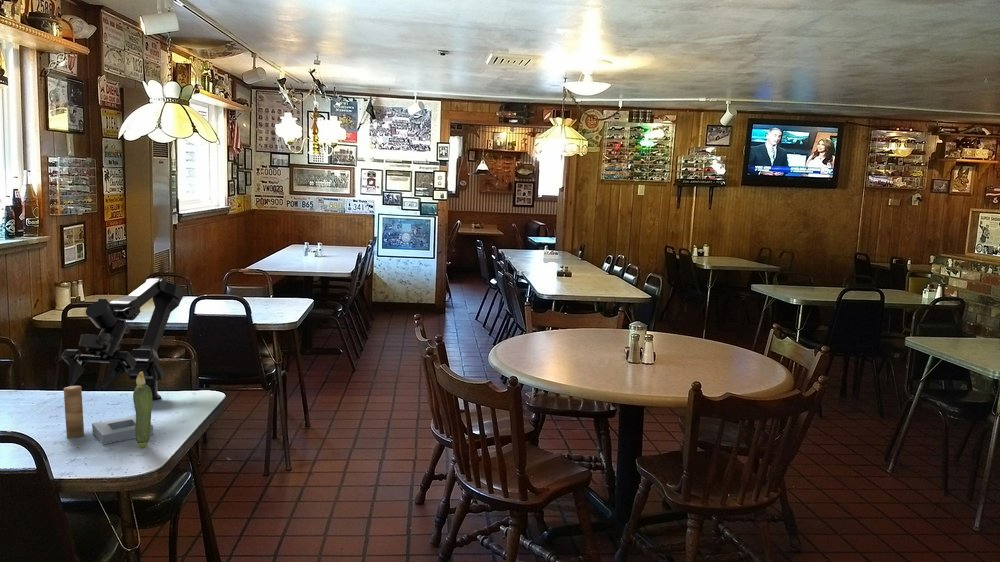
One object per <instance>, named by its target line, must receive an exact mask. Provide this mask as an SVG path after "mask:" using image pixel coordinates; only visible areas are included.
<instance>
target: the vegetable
mask: <svg viewBox="0 0 1000 562" xmlns="http://www.w3.org/2000/svg"><path fill="white" fill-rule="evenodd" d="M143 374H144V373H143V371H142V372H140V373H139V375H138V377H137V379H136V380H135V381H136V387H135V388H134V390H133V394H132V399H133V405H134V410H135V415H136V425H135V434H136V438H135V441H136V443H137V445H138V448H139V449H141V448H146V447H147V446H148V443H149V442H150V438H151V435H150V431H151V425H152V409H153V405H154V404H153V400H152V391H151V389H150V387H149V386H147V385H145V379H144V375H143ZM137 384H138V386H137Z"/></svg>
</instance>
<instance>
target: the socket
mask: <svg viewBox="0 0 1000 562" xmlns="http://www.w3.org/2000/svg"><path fill="white" fill-rule="evenodd" d="M135 425H136V414H135V415H131V416H124V417H120V418H114V419H109V420H108V419H107V420H104V421H97V422H96V421H95V422H92V423H91V429H92V433H93V434H94V436H95V437H96V438H97V439H98V440H100V441H101V442H100V441H99V442H100V443H101V444H102V445H103V444H104V445H107V443H109V444H111V443H110V442H114V443H117V442H116V441H119V442H122V441H121V440H124V441H127V440H126V439H129V440H132V439H131V438H134V439H136V434H135ZM152 434H153V435H154V425H153V424H151V431H150V436H153V435H152Z"/></svg>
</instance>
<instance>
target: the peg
mask: <svg viewBox="0 0 1000 562" xmlns="http://www.w3.org/2000/svg"><path fill="white" fill-rule="evenodd" d="M82 391H83V390H82V386H81V385H73V386H70V385H69V386H67V387H66V386H65V387H63V397H64V398H63V400H64V402H63V403H64V415H65V417H64V418H65V428H66V429H65V431H66V438H68V439H76V438H80V437H83V436H84V435H85V425H84V424H85V423H84V408H83V395H82V394H83V393H82Z"/></svg>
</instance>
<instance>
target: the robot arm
mask: <svg viewBox="0 0 1000 562" xmlns="http://www.w3.org/2000/svg"><path fill="white" fill-rule="evenodd" d="M183 298H184V290H183V289H182V288H181V286H180V285H177V284H174V283H172V282H169V281H167V280H165V279H163V278H160V277H159V278H156V277H154V278H153V277H149V278H147V279H145V281H144V283H143V284H141V285H139V287H137V288H136V289H134V290H133V291H132V292H131V293H130V294H128V295H126V296H123V297H122V296H121V297H118V298H115V299H112V300H111V301H110V302H109V301H108V299H107V298H98V300H97V301H95V302H93V303H91V304H90V305H88V306H87V308H86V309H85V315H86V316H87V318H89V319H90V321H91V322H92V324H94V325H95V327H96V328H97V329H101V330H100V332H99V334H93V333H92V334H88V333H81V334H80V338H79V339H80V340H79V341H78V342H79V343H78V346H79V347H84V348H85V351H86V352H87V353H89V354H84V353H83V352H82V351H81V350H80V349H64V351H63V353H62V354H61V356H60V357H61V359H62V360H63V361H64V362H65V363H66V364H67V365H68V368H69V374H68V375H69V376H68V385H69V386H75V384H76V383H77V381H78V379H79V378H80V377H81V375H82V374H83V372H84V371H85V368H84V367H85V366H86V365H87V364H88V363H106V364H108V369H107V371H106V373H105V375H104V378H103V380H102V382H101V384H100V385H101V387H102V388H105V387H107V386H108V385H109V384H111V383H112V382H114V381H115V380H116V379H117V378H119V377H120V376H122V375H123V374H124V373H127V375H128V379H129V381H136V379H137V377H138V375H139V373H140V372H142V371H143V373H144V374H143V375H144V379H145V385H147V386H149V387H150V389H151V391H152V400H159V399H162V396H161V395H160V394H159V393H158V381H161V380H163V378H164V377H165V369H164V368H163V367H162V366H161V365H160V358H159V355H158V349H159V348H160V344H161V341H162V338H163V335H164V333H165V330H166V327H167V324H168V322H169V318H170V315H171V313H172V312H173V311H175V309H177V308H178V307H179V305H180V304H181V302H182V300H183ZM151 299H152V301H153V305H154V309H153V311H152V315H151V317H150V319H149V322H148V325H147V328H146V330H145V333H144V336H143V337H142V338H143V339H142V342H141V344H140V347H138V348H136V349H135V348H133V349H132V350H131V351H130V352H129V351H123V350H120V349H121V347H122V346H121V344H120V342H121V340H122V338H123V336H124V334H129V333H130V328H129V326H128V324H127V323H125V322H124V321H134V320H136V318H137V317H138V316H139V315H140V313H141V309H142V306H144V305H145V304H146V303H148V302H149V301H150V300H151ZM137 386H138V384H137V383H136V387H137Z"/></svg>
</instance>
